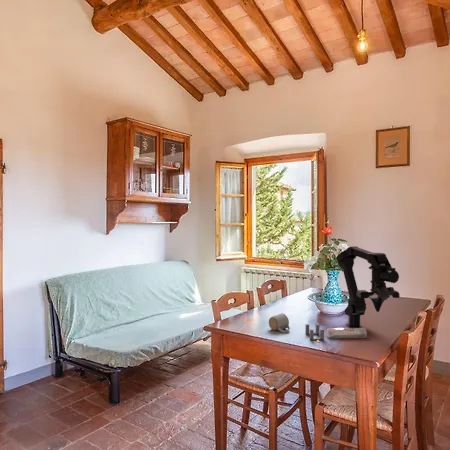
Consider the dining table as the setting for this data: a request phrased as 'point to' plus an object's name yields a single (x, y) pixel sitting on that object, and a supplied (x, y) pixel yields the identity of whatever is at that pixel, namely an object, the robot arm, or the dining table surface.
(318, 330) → the collar rig
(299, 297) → the dining table surface
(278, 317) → the ceramic mug
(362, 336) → the tube
